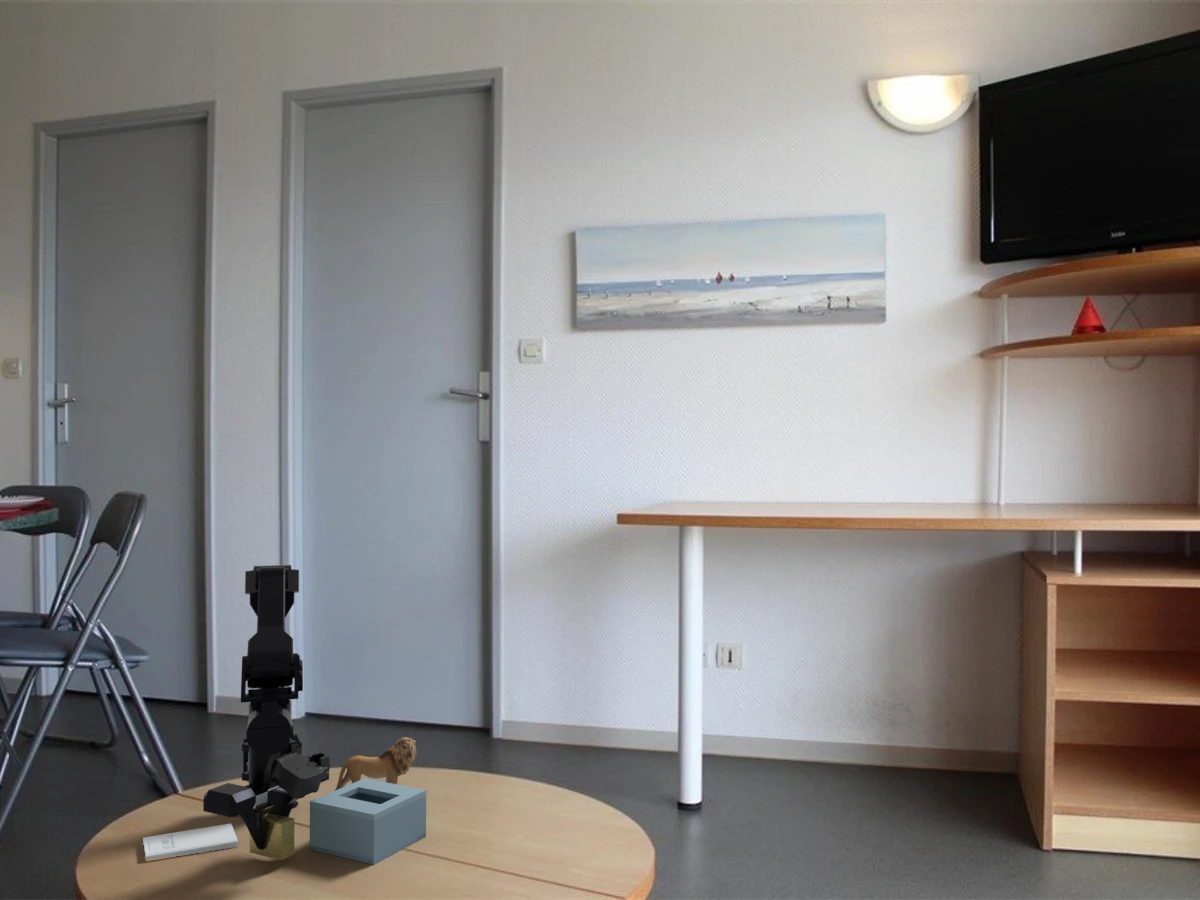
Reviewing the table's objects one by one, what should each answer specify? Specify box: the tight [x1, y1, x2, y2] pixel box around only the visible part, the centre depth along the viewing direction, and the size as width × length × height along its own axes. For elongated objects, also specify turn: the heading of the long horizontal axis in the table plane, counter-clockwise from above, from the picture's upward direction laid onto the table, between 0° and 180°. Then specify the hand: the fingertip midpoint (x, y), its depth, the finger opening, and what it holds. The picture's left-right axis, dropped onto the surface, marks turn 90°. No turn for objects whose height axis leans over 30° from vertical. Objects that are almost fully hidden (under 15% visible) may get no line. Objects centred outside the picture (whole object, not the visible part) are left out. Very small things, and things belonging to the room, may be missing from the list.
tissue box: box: [309, 777, 427, 865], centre depth 147 cm, size 12×12×7 cm
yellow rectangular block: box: [249, 813, 295, 861], centre depth 140 cm, size 6×2×5 cm, turn 63°
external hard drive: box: [141, 823, 239, 860], centre depth 146 cm, size 2×8×12 cm
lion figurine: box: [334, 736, 417, 791], centre depth 169 cm, size 15×5×9 cm, turn 115°
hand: (268, 845), depth 140 cm, fingers closed on yellow rectangular block, 2 cm apart
